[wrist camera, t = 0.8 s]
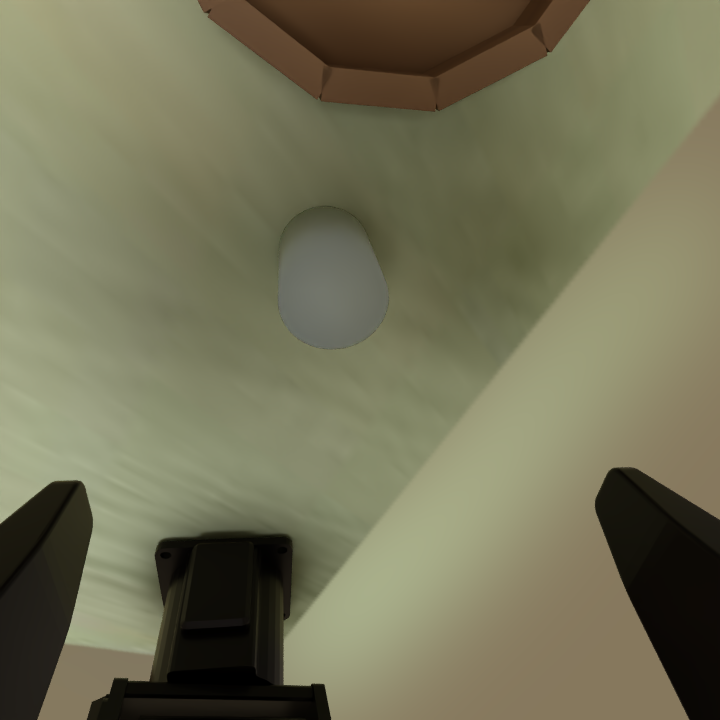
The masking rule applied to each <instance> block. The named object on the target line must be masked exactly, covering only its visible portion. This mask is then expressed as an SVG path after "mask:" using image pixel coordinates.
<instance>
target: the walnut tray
mask: <svg viewBox="0 0 720 720" xmlns="http://www.w3.org/2000/svg"><path fill="white" fill-rule="evenodd" d="M589 1H590V0H198V2H199V4H200V6H201V8H202V10H203V12H204V13H208V14H209V15H208V18H210V19H211V20H212V21H214V22H215V23H216V24H218V25H219V26H220V27H222V28H223V29H224V30H226V31H227V32H228V33H230V34H231V35H232V36H234V37H235V38H236V39H238V40H239V41H240V42H241V43H243V44H244V45H245V46H247V47H248V48H249V49H251V50H252V51H253V52H255V53H256V54H257V55H259V56H260V57H261V58H263V59H264V60H265V61H267V62H268V63H269V64H271V65H272V66H273V67H275V68H276V69H277V70H279V71H280V72H281V73H283V74H284V75H285V76H287V77H288V78H289V79H291V80H292V81H293V82H294V83H296V84H297V85H298V86H300V87H301V88H302V89H304V90H305V91H306V92H308V93H309V94H310V95H312V96H313V97H314V98H316V99H318V97H319V98H320V100H321V101H325V102H336V103H347V104H357V105H368V106H379V107H390V108H401V109H412V110H423V111H434V112H435V109H437V110H439V111H440V110H442V109H444V108H446V107H448V106H449V105H451V104H453V103H455V102H457V101H459V100H461V99H463V98H465V97H467V96H469V95H471V94H473V93H475V92H477V91H479V90H481V89H483V88H485V87H487V86H489V85H490V84H492V83H494V82H496V81H498V80H500V79H502V78H504V77H506V76H508V75H510V74H512V73H514V72H516V71H518V70H520V69H522V68H524V67H526V66H528V65H530V64H531V63H533V62H535V61H537V60H539V59H541V58H543V57H545V56H547V52H552V50H553V49H554V48H555V46H556V45H557V44H558V42H559V41H560V40H561V38H562V37H563V36H564V34H565V33H566V32H567V30H568V29H569V28H570V26H571V25H572V24H573V22H574V21H575V20H576V18H577V17H578V16H579V14H580V13H581V12H582V10H583V9H584V8H585V6H586V5H587V4H588V2H589Z"/></svg>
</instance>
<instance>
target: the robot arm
mask: <svg viewBox="0 0 720 720" xmlns="http://www.w3.org/2000/svg"><path fill="white" fill-rule="evenodd" d="M595 510H596V514H597V516H598V519H599V522H600V524H601V527H602V529H603V532H604V535H605V537H606V540H607V543H608V545H609V548H610V550H611V553H612V556H613V558H614V561H615V564H616V566H617V569H618V572H619V574H620V577H621V579H622V582H623V584H624V587H625V589H626V591H627V594H628V596H629V598H630V600H631V602H632V604H633V606H634V608H635V610H636V612H637V614H638V616H639V619H640V621H641V623H642V624H643V627H644V629H645V631H646V633H647V635H648V637H649V639H650V641H651V643H652V645H653V647H654V649H655V651H656V653H657V655H658V657H659V659H660V661H661V663H662V665H663V667H664V669H665V671H666V673H667V675H668V677H669V679H670V681H671V684H672V686H673V688H674V690H675V692H676V694H677V696H678V698H679V700H680V702H681V704H682V706H683V708H684V710H685V712H686V714H687V716H688V718H689V720H720V520H719V519H717V518H716V517H714V516H712V515H711V514H709V513H708V512H706V511H704V510H703V509H701V508H700V507H698V506H696V505H695V504H693V503H691V502H689V501H688V500H687V499H685V498H683V497H682V496H680V495H678V494H677V493H675V492H674V491H672V490H670V489H669V488H667V487H665V486H664V485H662V484H660V483H659V482H657V481H656V480H654V479H652V478H651V477H649V476H648V475H646V474H644V473H643V472H641V471H639V470H638V469H635V468H631V467H624V468H623V467H621V468H612V469H611V470H610V471H609V472H608V473H607V475H606V477H605V479H604V482H603V484H602V486H601V488H600V490H599V492H598V495H597V497H596V500H595ZM92 528H93V517H92V512H91V508H90V504H89V501H88V497H87V493H86V489H85V486H84V484H83V483H82V482H81V481H78V480H73V481H54V482H52V483H50V484H49V485H47V486H46V487H45V488H44V489H42V490H41V491H40V492H39V493H37V494H36V495H35V496H34V497H33V498H31V499H30V500H29V501H28V502H26V503H25V504H24V505H23V506H22V507H20V508H19V509H18V510H17V511H15V512H14V513H13V514H12V515H11V516H9V517H8V518H7V519H6V520H4V521H3V522H2V523H1V524H0V720H37V719H38V716H39V713H40V710H41V707H42V704H43V701H44V699H45V696H46V693H47V690H48V688H49V685H50V682H51V679H52V676H53V673H54V671H55V668H56V665H57V662H58V659H59V656H60V653H61V651H62V648H63V645H64V642H65V639H66V636H67V633H68V630H69V627H70V623H71V619H72V615H73V611H74V607H75V603H76V598H77V594H78V590H79V585H80V581H81V577H82V573H83V568H84V564H85V560H86V555H87V551H88V547H89V542H90V538H91V534H92ZM155 560H156V566H157V571H158V577H159V583H160V588H161V594H162V600H163V605H164V612H163V617H162V622H161V627H160V632H159V637H158V642H157V647H156V651H155V656H154V661H153V666H152V671H151V676H150V681H149V682H148V681H128V678H114V680H113V684H112V687H111V691H110V694H107V695H106V696H105V697H102V698H100V699H98V700H96V701H93V702H92V704H91V707H90V711H89V714H88V718H87V720H331V716H330V711H329V706H328V701H327V696H326V690H325V685H324V684H311V686H293V685H292V686H291V685H283V620H286V619H287V618H289V616H290V599H291V574H292V541H291V540H290V539H289V538H287V537H268V538H243V539H217V540H192V541H166V542H162V543H160V544H158V545H157V548H156V552H155Z"/></svg>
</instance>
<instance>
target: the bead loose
mask: <svg viewBox="0 0 720 720" xmlns="http://www.w3.org/2000/svg"><path fill="white" fill-rule="evenodd" d="M388 303H389V292H388V287H387V283H386V280H385V278H384V275H383V273H382V270H381V268H380V266H379V263H378V261H377V258H376V256H375V253H374V251H373V248H372V246H371V243H370V241H369V238H368V236H367V234H366V231H365V229H364V228H363V226H362V225H361V223H360V222H359V221H358V220H357V219H356V218H355V217H354V216H352V215H351V214H349V213H348V212H346V211H344V210H341V209H339V208H335V207H328V206H321V207H315V208H311V209H308V210H306V211H303V212H302V213H300V214H298V215H297V216H296V217H294V218H293V219H292V220H291V221H290V222H289V224H288V225H287V226H286V228H285V230H284V231H283V233H282V236H281V239H280V244H279V273H278V307H279V312H280V315H281V318H282V320H283V322H284V324H285V326H286V327H287V328H288V330H289V331H290V332H291V333H292V334H293V335H294V336H295V337H297V338H298V339H299V340H301V341H302V342H304V343H306V344H308V345H311V346H314V347H317V348H322V349H341V348H346V347H350V346H353V345H355V344H358V343H359V342H361V341H363V340H365V339H366V338H368V337H369V336H370V335H371V334H372V333H374V331H375V330H376V329H377V328H378V327H379V325H380V324H381V323H382V321H383V319H384V317H385V314H386V312H387V308H388Z"/></svg>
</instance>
